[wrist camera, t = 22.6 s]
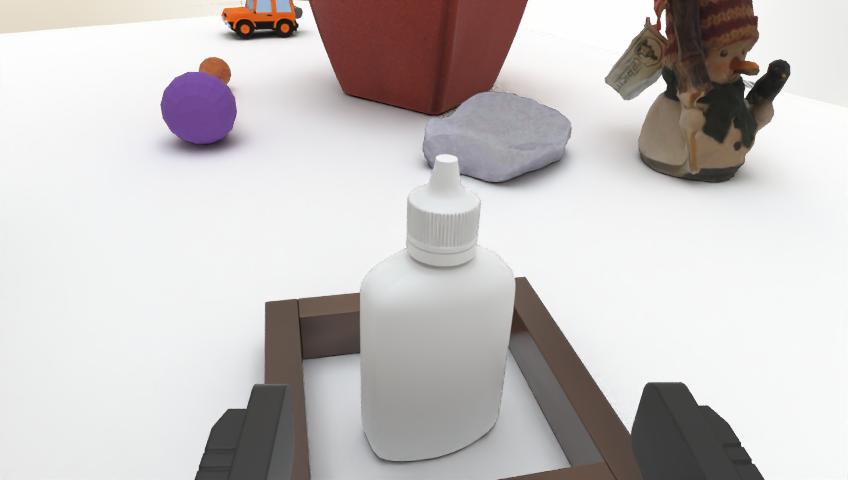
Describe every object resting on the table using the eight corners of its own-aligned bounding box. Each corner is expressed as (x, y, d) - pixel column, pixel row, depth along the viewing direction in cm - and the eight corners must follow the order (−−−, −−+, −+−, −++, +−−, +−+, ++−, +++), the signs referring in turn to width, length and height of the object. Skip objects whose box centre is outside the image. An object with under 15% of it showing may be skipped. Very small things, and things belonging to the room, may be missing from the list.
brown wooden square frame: (271, 613, 18) (262, 565, 17) (270, 342, 29) (265, 301, 28) (651, 536, 21) (668, 489, 20) (519, 315, 32) (525, 276, 31)
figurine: (588, 173, 49) (641, -109, 39) (595, 126, 60) (638, -105, 50) (765, 198, 46) (872, -100, 36) (740, 145, 56) (818, -98, 47)
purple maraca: (245, 50, 65) (237, 85, 48) (241, 103, 67) (232, 157, 50) (187, 39, 63) (156, 73, 46) (184, 95, 66) (154, 147, 48)
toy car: (310, 36, 92) (306, -27, 87) (231, 41, 87) (223, -25, 82) (295, 28, 97) (291, -32, 93) (220, 32, 92) (212, -31, 87)
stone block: (569, 165, 55) (476, 122, 58) (588, 118, 52) (488, 76, 55) (516, 218, 46) (410, 165, 49) (534, 165, 43) (420, 112, 47)
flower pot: (447, 133, 56) (458, -68, 48) (297, 95, 65) (284, -80, 56) (530, 89, 70) (551, -71, 62) (398, 63, 79) (400, -81, 71)
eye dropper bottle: (373, 382, 27) (372, 129, 21) (497, 395, 27) (532, 140, 21) (353, 461, 23) (344, 179, 17) (497, 477, 23) (539, 194, 17)
